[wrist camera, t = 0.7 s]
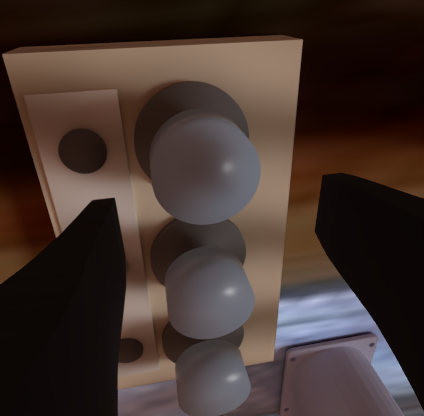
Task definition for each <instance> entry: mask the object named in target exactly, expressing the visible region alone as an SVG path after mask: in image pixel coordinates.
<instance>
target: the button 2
mask: <svg viewBox="0 0 424 416" xmlns="http://www.w3.org/2000/svg"><path fill="white" fill-rule="evenodd" d="M175 374H176V383H177V392H178V401H179V405H180V407H181V409H182V410H183V411H184V412H186V413H187V414H189V415H192V416H219V415H223V414H226V413H228V412H230V411H232V410H234V409H236V408H237V407H239V406H240V405H241V404H242V403H243V402H244V401H245V400H246V399H247V398H248V396H249V394H250V391H251V384H250V381H249V378H248V374H247V371H246V368H245V364H244V361H243V358H242V355H241V352H240V350H239V348H238V347H237V346H236V345H234V344H233V343H231V342H228V341H224V340H207V341H203V342H200V343H197V344H195V345H193V346H191V347H189V348H188V349H186V350H185V351H184V352H183V353H182V354H181V355H180V356H179V357H178V359H177V361H176V364H175Z"/></svg>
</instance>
